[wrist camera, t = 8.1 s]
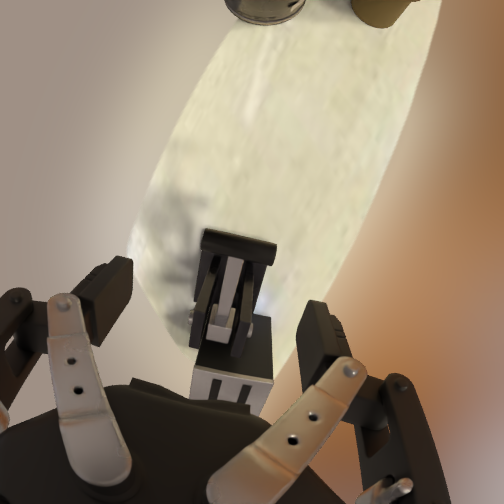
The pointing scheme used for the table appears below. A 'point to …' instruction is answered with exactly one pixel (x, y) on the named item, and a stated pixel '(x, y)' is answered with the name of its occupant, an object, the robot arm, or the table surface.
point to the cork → (380, 11)
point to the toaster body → (236, 368)
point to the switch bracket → (210, 293)
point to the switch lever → (232, 274)
